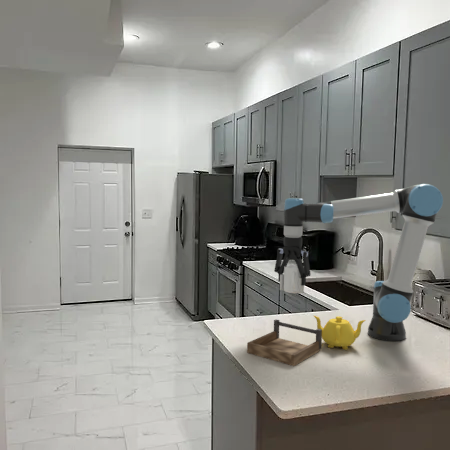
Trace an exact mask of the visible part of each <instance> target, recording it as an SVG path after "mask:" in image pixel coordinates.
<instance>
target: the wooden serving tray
mask: <svg viewBox="0 0 450 450" xmlns="http://www.w3.org/2000/svg"><path fill="white" fill-rule="evenodd" d="M280 327H285V328H288V329H293V330H298V331H302V332H306V333H311V334H315V341H313V342H312V343H309V344H305V343H304V344H303V343H299V342H296V341H292V340H288V339H283V338H280ZM322 340H323V339H322V329H317V328H316V329H312V328H308V327H305V326H304V327H303V326H299V325H296V324H295V325H294V324H290V323H286V322H282V321H280V319H274V320H273V330H272V331H270V332H269V333H266V334H264V335H261V336H259V337H257V338H254V339H253V340H250V341H248V342H247V345H246V346H247V348H246V353H247V354H251V355H253V356H256V357H257V356H258V357H261V358H264V359H267V360H268V359H269V360H271V361H275V362H278V363H282V364H286V365H289V366H291V367H292V366H293V367H295V366H297V365H298V364H300V363H302V362H303V361H305V360H307V359H308V358H311V357H312V356H315V354H318V353H319V352H321V349H322Z"/></svg>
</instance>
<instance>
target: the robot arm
mask: <svg viewBox="0 0 450 450" xmlns="http://www.w3.org/2000/svg"><path fill="white" fill-rule="evenodd" d="M443 205H444V197H443V194H442V191H440V189H438V187H436V186H435V185H433V184H429V183H421V184H415V185H411V186H408V187H404V188H400V189H399V188H398V189H394V190H393V192H389V193H382V194H374V195H368V196H359V197H352V198H345V199H337V200H330V201H324V202H323V201H322V202H320V201H319V202H316V203H304V199H303V198H296V197H295V198H293V197H291V198H290V197H289V198H286V199H285V200H284V209H283V211H284V213H283V235H284V237H283V247H282V248H277V249H276V252H277V253H276V254H277V255H276V261H275V266H274V269H273V270H274V272H275V273H277V274H278V279H277V280H278V282H279V291H284V266H285V267H286V266H287V265H289V261H290V260H294V262H295V263H296V264H295V265H297V267H298V270H299V272H300V275H301V277H299V293H298V294H299V295H300V294H304V292H305V286H306V283H307V277H310V276H311V267H310V261H309V255H310V252H309V251H304V250H303V248H302V246H303V237H302V236H303V229H304V228H303V226H304V224H303V223H319V224H321V223H323V224H326V223H328V224H329V223H330V224H331V223H333V221H334V219H340V218H341V219H342V218H349V217H350V218H351V217H357V216H364V215H374V214H381V213H382V214H383V213H390V212H395V213H397V214H401V213H402V215H401V216H402V217H403V219H404V223H403V226H402V230H401V233H400V236H399V240H398V243H397V247H396V250H395V253H394V257H393V260H392V263H391V268H390V271H389V274H388V278H387V279H386V280H377V281H374V283H373V304H372V305H373V306H372V317H371V320H370V322H369V325H368V328H367V335H368V336H369V337H371V338H375V339H377V340H381V341H388V342H389V341H390V342H398V341H403V340H406V338H407V331H406V329H405V324H404V321H405V320H407V318H408V317H409V316H410V314H411V312H412V311H411V310H412V307H411V306H412V305H411V301H412V298H413V295H414V290H413V287H412V284H413V279H414V277H415V273H416V269H417V266H418V263H419V260H420V255H421V253H422V249H423V245H424V242H425V238H426V235H427V232H428V228H429V227H430V226H431V225H433V224H435V220H436V217H437V213H439V212H440V210H441V208H442V207H443ZM301 256H302V257H301ZM303 266H304V267H303Z"/></svg>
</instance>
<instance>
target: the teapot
mask: <svg viewBox="0 0 450 450" xmlns="http://www.w3.org/2000/svg"><path fill="white" fill-rule="evenodd" d="M313 317H314V319H316V323H317V324H316V329H322V340H323V342H325V344H327V348H329V349H333V348H334V347H341V348H342V350H344V351H345V350H349V348H348V347H350V346H352V345H353V344H354V343H355V342H356V340H357V338H359V337H360V335H361V331H362V325H363V323H364V322H366V319H364V320H359V321H358V323H357V326H356V329H355V330H354V328H353V326H352V324H351V323H350V321H349V320H348V319H345V318H343V317H342V316H339V315H338V316H335V318H329V319H328V321H327V322H326V323H325V325H324V327H323V326H322V323H321V318H320V317H319V316H317V315H313Z"/></svg>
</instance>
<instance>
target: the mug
mask: <svg viewBox="0 0 450 450" xmlns="http://www.w3.org/2000/svg"><path fill="white" fill-rule="evenodd" d="M303 267H304V265H303ZM283 274H284V290H283V291H284V292H285V293H289V294H299V277H301V275H300V272H299V270H298V267H297V264H287V266H286V267H285V266H284V273H283Z"/></svg>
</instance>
